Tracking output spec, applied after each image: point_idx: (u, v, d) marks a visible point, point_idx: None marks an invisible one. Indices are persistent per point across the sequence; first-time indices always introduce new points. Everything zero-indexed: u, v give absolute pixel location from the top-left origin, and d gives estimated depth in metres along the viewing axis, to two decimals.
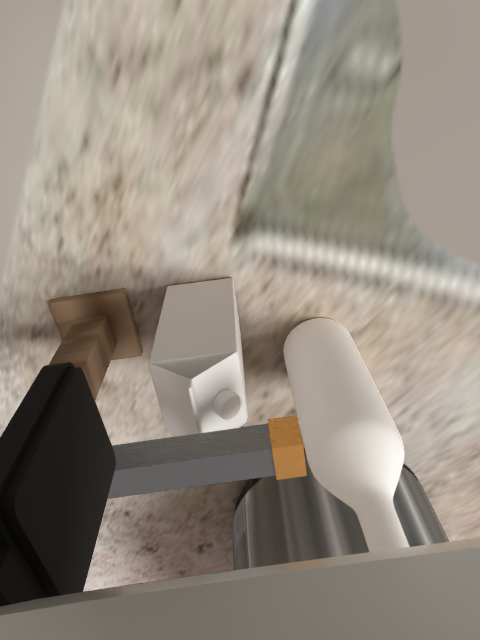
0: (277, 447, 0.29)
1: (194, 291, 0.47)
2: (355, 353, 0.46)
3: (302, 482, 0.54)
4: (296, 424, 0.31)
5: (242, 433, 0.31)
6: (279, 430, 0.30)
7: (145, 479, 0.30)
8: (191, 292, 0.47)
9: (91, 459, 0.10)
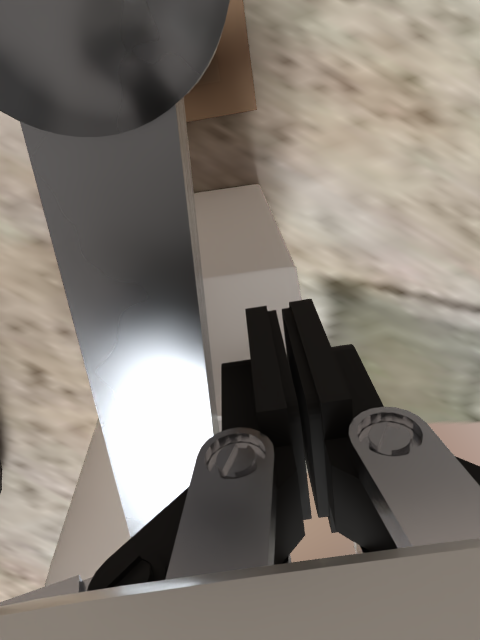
0: None
1: None
2: None
3: None
4: None
5: None
6: None
7: (163, 443, 0.10)
8: None
9: None
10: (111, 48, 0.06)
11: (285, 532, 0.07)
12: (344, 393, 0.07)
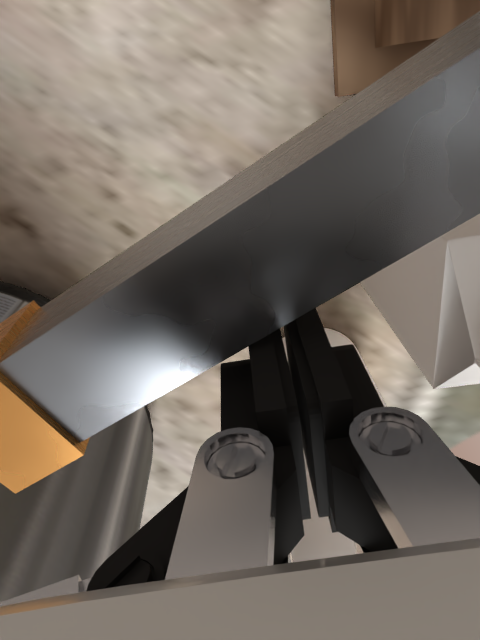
0: (71, 460, 0.10)
1: None
2: None
3: None
4: None
5: None
6: None
7: (427, 173, 0.08)
8: None
9: None
10: None
11: (284, 532, 0.07)
12: (344, 393, 0.07)
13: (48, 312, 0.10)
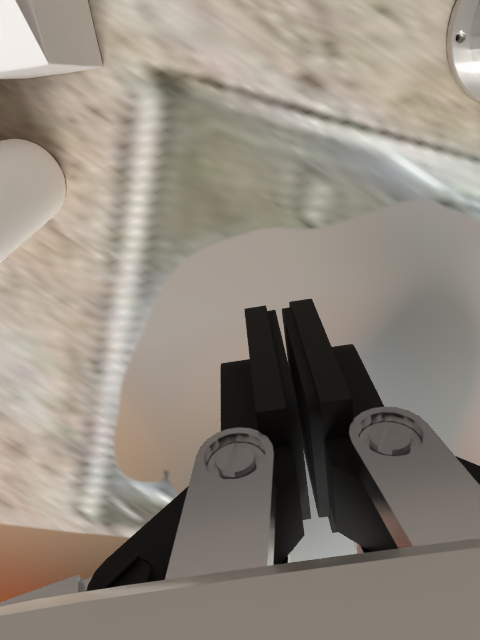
0: None
1: (84, 9, 0.37)
2: (40, 224, 0.41)
3: None
4: None
5: None
6: None
7: None
8: (81, 5, 0.36)
9: None
10: None
11: (284, 532, 0.07)
12: (344, 393, 0.07)
13: None
